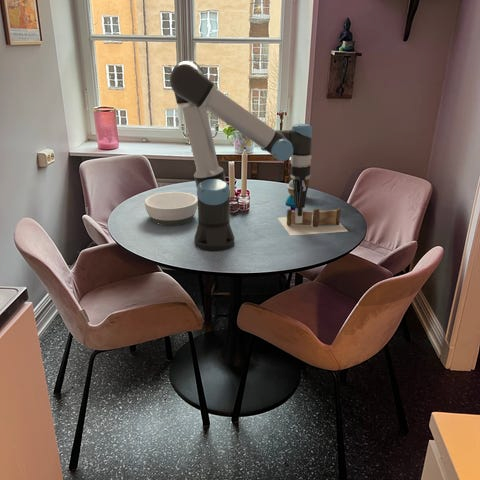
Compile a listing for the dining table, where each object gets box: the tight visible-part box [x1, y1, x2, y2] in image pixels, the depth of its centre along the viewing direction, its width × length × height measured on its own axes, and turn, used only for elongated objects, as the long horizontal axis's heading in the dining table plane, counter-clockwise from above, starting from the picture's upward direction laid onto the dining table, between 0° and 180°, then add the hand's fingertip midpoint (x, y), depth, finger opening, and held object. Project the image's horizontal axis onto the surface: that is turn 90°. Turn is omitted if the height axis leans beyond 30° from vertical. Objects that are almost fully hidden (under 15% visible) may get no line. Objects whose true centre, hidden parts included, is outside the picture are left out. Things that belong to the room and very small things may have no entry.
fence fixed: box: [312, 207, 342, 227], centre depth 198 cm, size 12×2×7 cm, turn 101°
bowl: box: [144, 191, 198, 226], centre depth 206 cm, size 22×22×8 cm
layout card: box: [277, 214, 348, 237], centre depth 200 cm, size 24×20×1 cm
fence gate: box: [286, 208, 313, 225], centre depth 198 cm, size 10×2×6 cm, turn 86°
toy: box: [284, 179, 296, 211], centre depth 213 cm, size 8×9×15 cm
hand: (298, 222), depth 196 cm, fingers closed
